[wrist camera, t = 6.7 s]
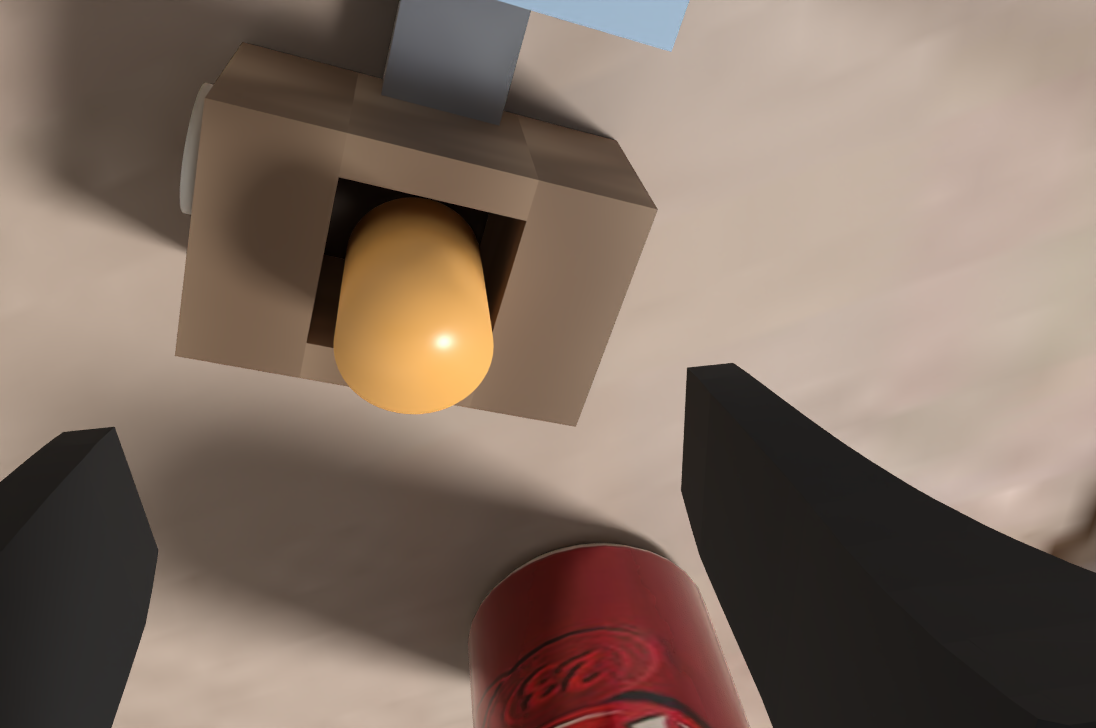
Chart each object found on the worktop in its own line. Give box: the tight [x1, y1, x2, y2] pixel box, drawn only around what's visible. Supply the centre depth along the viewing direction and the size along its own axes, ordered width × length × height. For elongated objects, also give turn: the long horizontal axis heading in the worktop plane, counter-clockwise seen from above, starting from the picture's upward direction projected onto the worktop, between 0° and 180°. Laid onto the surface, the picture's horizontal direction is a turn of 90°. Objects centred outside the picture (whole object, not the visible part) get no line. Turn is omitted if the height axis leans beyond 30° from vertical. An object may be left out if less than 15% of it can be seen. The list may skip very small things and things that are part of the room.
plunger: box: [333, 197, 494, 414], centre depth 17 cm, size 3×3×3 cm
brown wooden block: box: [175, 42, 658, 427], centre depth 19 cm, size 8×5×4 cm, turn 73°
